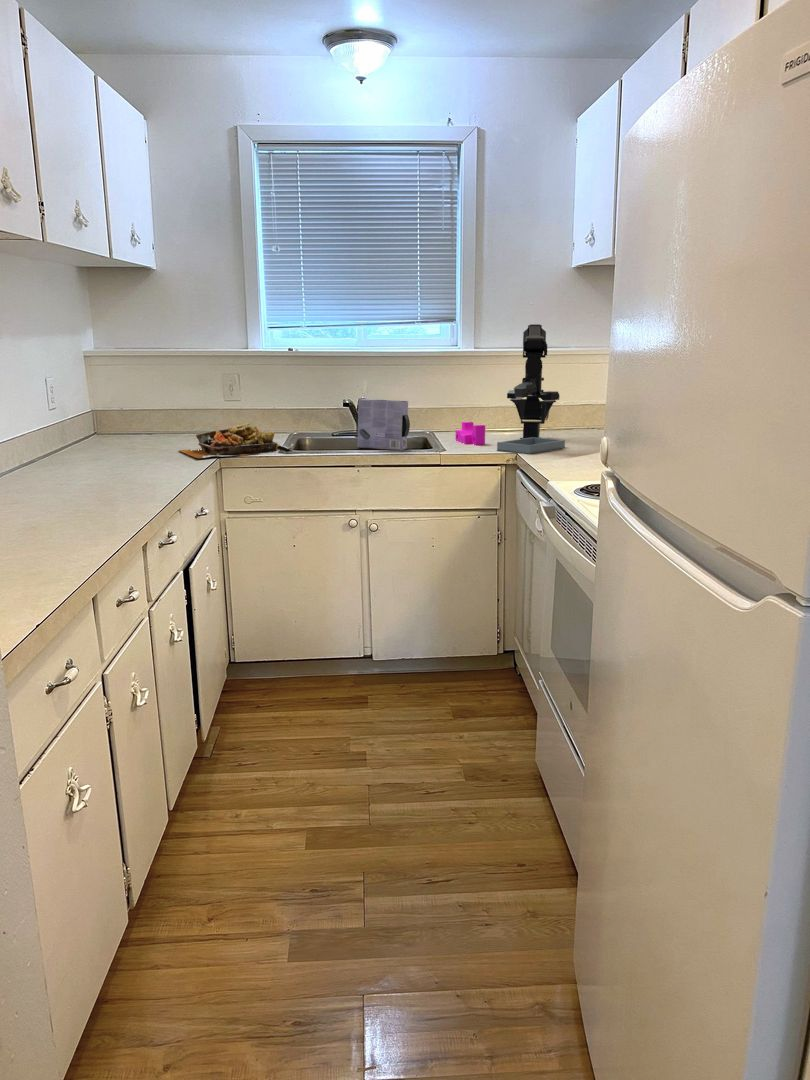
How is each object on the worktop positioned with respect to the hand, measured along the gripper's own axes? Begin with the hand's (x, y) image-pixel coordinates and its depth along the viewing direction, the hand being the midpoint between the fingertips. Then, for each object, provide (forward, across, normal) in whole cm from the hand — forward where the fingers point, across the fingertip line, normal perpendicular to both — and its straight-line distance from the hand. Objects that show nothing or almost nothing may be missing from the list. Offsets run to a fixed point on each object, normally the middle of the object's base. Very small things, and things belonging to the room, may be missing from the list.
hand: (532, 420), depth 281 cm
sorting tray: (+10, 0, 0) cm, 10 cm away
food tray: (+12, -76, -73) cm, 106 cm away
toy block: (+11, -29, +1) cm, 31 cm away
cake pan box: (+11, -41, -33) cm, 54 cm away
